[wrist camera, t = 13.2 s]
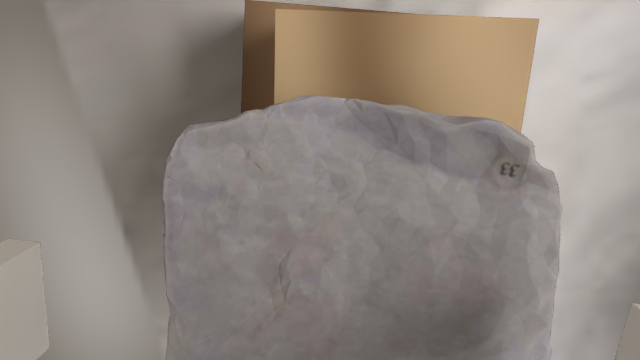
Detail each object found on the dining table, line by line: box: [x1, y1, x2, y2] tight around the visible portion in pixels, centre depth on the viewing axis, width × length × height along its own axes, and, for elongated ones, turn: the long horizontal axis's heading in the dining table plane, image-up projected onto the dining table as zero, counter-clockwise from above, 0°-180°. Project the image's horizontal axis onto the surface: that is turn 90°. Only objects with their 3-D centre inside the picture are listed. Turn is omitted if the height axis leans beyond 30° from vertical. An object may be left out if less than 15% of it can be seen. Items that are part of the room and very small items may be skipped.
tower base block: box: [241, 0, 410, 113], centre depth 22 cm, size 12×12×5 cm
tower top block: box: [274, 9, 539, 134], centre depth 17 cm, size 8×10×5 cm
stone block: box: [162, 95, 561, 360], centre depth 14 cm, size 12×5×10 cm
